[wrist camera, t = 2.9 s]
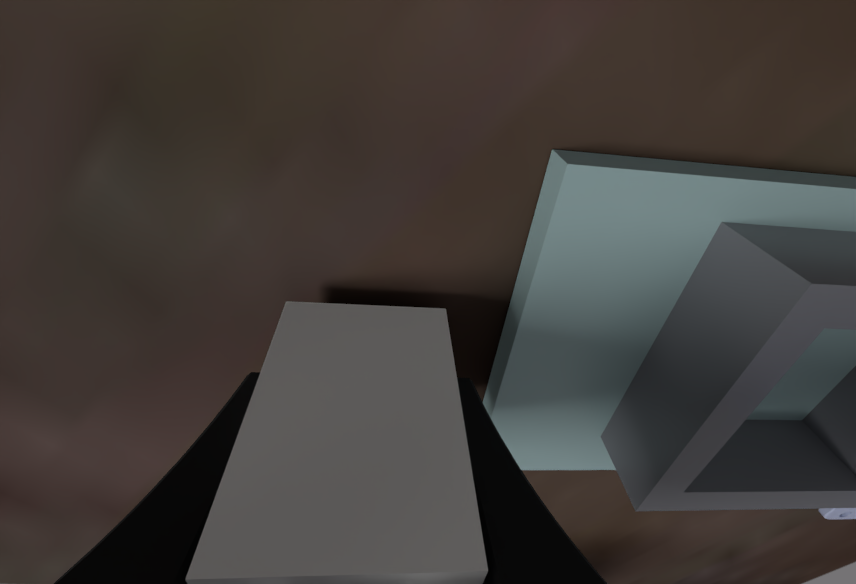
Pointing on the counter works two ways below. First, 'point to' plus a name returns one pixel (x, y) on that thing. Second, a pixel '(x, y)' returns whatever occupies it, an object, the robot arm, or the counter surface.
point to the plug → (349, 458)
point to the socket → (686, 333)
